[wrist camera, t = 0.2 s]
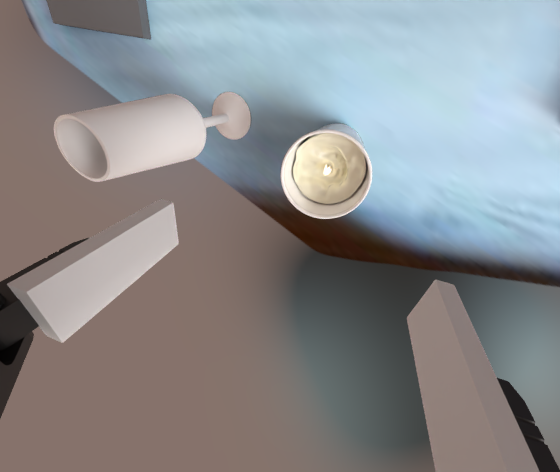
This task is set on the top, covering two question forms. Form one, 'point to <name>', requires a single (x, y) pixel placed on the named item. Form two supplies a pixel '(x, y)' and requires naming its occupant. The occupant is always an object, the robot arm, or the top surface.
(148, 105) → the champagne flute
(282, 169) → the candle holder
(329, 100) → the top surface
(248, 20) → the top surface
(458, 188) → the top surface
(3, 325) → the robot arm
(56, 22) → the base plate
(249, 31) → the top surface
